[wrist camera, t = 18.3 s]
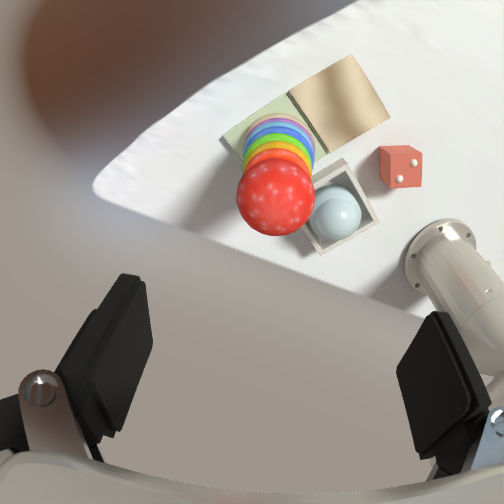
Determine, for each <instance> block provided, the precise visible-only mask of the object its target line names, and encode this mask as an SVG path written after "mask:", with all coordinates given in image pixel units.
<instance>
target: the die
mask: <svg viewBox="0 0 504 504" xmlns="http://www.w3.org/2000/svg"><path fill="white" fill-rule="evenodd" d="M379 154H380V178H381V179H382V180H383V181H384V182H385V183H386V184H387V185H388V186H389V187H390V188H407V187H421V182H422V153H421V152H419V151H417V150H416V149H414V148H412V147H411V146H409V145H407V146H379Z"/></svg>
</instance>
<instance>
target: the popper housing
mask: <svg viewBox="0 0 504 504" xmlns="http://www.w3.org/2000/svg"><path fill="white" fill-rule="evenodd" d="M311 181H312V183H313V186H314V191H316V190H317V189H319V188H320V187H322V186H325V185H330V184H335V185H340V186H343V187H345V188H346V189H348V190H349V191H350V192H351V193H352V195H353V196H354V198H355V200H356V201H357V203H358V204H359V206H360V209H361V221H360V224H359V226H358V228H357V229H356V231H355V232H354V233H353V234H352V235H350V236H349V237H347V238H345V239H343V240H338V241H329V240H325V239H323V238H321V237H319V236H318V235H317V234H316V233H315V232H314V231H313V229H312V227H311V224H310V220H309V219H308V220H307V221H306V223H305V224H304V225H303V226H302V227H301V228H302V230H303V231H304V233H305V234H306V236H307V237H308V238H309V240H310V241H311V243H312V244H313V246H314V247H315V249H316V250H317V252H318V253H319V255H320V256H321V255H323V254H325V253H327V252H328V251H330V250H332V249H334V248H335V247H337V246H339V245H341V244H343V243H344V242H346V241H348V240H350V239H351V238H353V237H355V236H357V235H358V234H360V233H362V232H364V231H365V230H367V229H369V228H371V227H372V226H374V225H376V224H378V223H379V220H378V218H377V216H376V214H375V212H374V210H373V208H372V206H371V205H370V203H369V201H368V199H367V197H366V195H365V193H364V192H363V190H362V188H361V186H360V184H359V183H358V181H357V179H356V177H355V176H354V174H353V172H352V170H351V169H350V167H349V165H348V164H347V162H346V161H345V160H344V159H343V158H341V159H340V160H338V161H336V162H335V163H333V164H331V165H330V166H328V167H326V168H325V169H323V170H321V171H320V172H318V173H316V174H315V175H313V176H312V179H311Z"/></svg>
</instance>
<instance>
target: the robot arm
mask: <svg viewBox="0 0 504 504" xmlns="http://www.w3.org/2000/svg"><path fill="white" fill-rule="evenodd" d="M404 270H405V275H406V277H407V280H408V281H409V283H410V285H411V286H412V287H413V288H414V289H415V290H417V291H418V292H420V293H424V294H428V296H429V298H430V300H431V302H432V303H433V305H434V307H435V309H436V311H433V312H431V313H430V315H428V316H426V318H425V320H424V322H423V323H422V325H421V327H420V329H419V331H418V332H417V334H416V336H415V338H414V339H413V341H412V343H411V344H410V346H409V348H408V350H407V351H406V353H405V354H404V356H403V358H402V359H401V361H400V363H399V364H398V366H397V370H396V374H397V378H398V382H399V386H400V389H401V393H402V397H403V400H404V404H405V408H406V412H407V416H408V420H409V424H410V428H411V433H412V437H413V441H414V446H415V450H416V452H417V453H419V456H420V459H421V460H423V459H429V461H430V464H431V467H432V470H431V472H430V474H429V476H428V478H427V480H426V481H425V482H420V483H415V484H410V485H404V486H398V487H391V488H385V489H376V490H368V491H357V492H345V493H328V494H327V493H326V494H280V493H261V492H247V491H237V490H228V489H220V488H213V487H206V486H199V485H194V484H189V483H183V482H178V481H174V480H169V479H164V478H160V477H155V476H150V475H146V474H143V473H139V472H135V471H131V470H127V469H124V468H120V467H117V466H114V465H110V464H107V462H106V459H105V457H104V455H103V453H102V451H101V448H100V446H99V444H98V443H100V442H101V439H102V437H103V435H105V436H108V437H111V438H114V435H115V432H116V431H118V432H120V431H121V429H122V427H123V425H124V422H125V419H126V416H127V413H128V411H129V408H130V405H131V402H132V400H133V397H134V394H135V391H136V389H137V386H138V384H139V381H140V378H141V376H142V373H143V370H144V368H145V365H146V363H147V360H148V357H149V355H150V352H151V349H152V345H153V338H152V331H151V324H150V317H149V310H148V302H147V293H146V285H145V282H144V281H141V280H140V277H139V276H135V275H130V274H124V273H123V274H121V275H120V276H119V277H118V279H117V280H116V282H115V283H114V285H113V286H112V288H111V289H110V291H109V292H108V294H107V295H106V297H105V298H104V300H103V302H102V303H101V304H100V306H99V308H98V309H95V310H93V311H92V312H91V313H90V314H89V316H88V317H87V319H86V321H85V322H84V324H83V325H82V327H81V328H80V330H79V332H78V333H77V335H76V337H75V338H74V340H73V341H72V343H71V345H70V346H69V348H68V350H67V351H66V353H65V355H64V356H63V358H62V360H61V361H60V363H59V365H58V367H57V368H56V370H55V372H52V371H50V370H44V369H42V370H36V371H34V372H32V373H29V374H28V375H27V376H26V377H25V378H24V379H23V380H22V382H21V383H20V386H19V389H18V394H16V395H13V396H10V397H7V398H4V399H1V400H0V504H504V283H503V281H502V280H501V279H500V278H499V276H498V275H497V274H496V273H495V272H494V270H493V269H492V268H491V263H490V262H489V261H485V260H484V259H483V258H482V256H481V255H480V254H479V253H478V252H477V251H476V240H475V236H474V234H473V232H472V231H471V230H470V228H469V227H468V226H466V225H465V224H464V223H463V222H461V221H459V220H455V219H444V220H439V221H437V222H435V223H432V224H431V225H429V226H427V227H426V228H425V229H423V230H422V231H421V232H420V233H419V234H418V235H417V236H416V238H415V239H414V240H413V242H412V243H411V245H410V246H409V249H408V251H407V253H406V257H405V262H404ZM479 373H480V374H484V375H489V376H494V378H493V380H492V381H491V382H490V383H489V384H488V385H487V386H486V387H485V385H484V383H483V380H482V378H481V376H480V374H479Z"/></svg>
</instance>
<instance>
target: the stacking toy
mask: <svg viewBox="0 0 504 504" xmlns="http://www.w3.org/2000/svg"><path fill="white" fill-rule="evenodd" d="M314 160H315V142H314V138H313V136H312V133H311V132H310V130H309V128H308V127H307V126H306V125H305V124H304V123H303V122H302V121H301V120H299V119H298V118H296V117H294V116H292V115H289V114H284V113H272V114H267V115H265V116H262V117H260V118H259V119H257V120H256V121H254V122H253V123H252V124H251V126H250V127H249V128H248V130H247V131H246V134H245V136H244V140H243V176H242V178H241V180H240V182H239V185H238V189H237V204H238V208H239V211H240V214H241V216H242V217H243V219H244V220H245V221H246V222H247V224H248V225H249V226H250V227H252V228H253V229H254V230H256V231H258V232H260V233H262V234H265V235H270V236H282V235H287V234H290V233H293V232H295V231H296V230H298V229H299V228H301V227H302V226H303V225H304V224H305V223H306V221H307V220H308V219H309V217H310V215H311V214H312V212H313V208H314V204H315V191H314V186H313V183H312V181H311V179H312V169H313V163H314Z"/></svg>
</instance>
